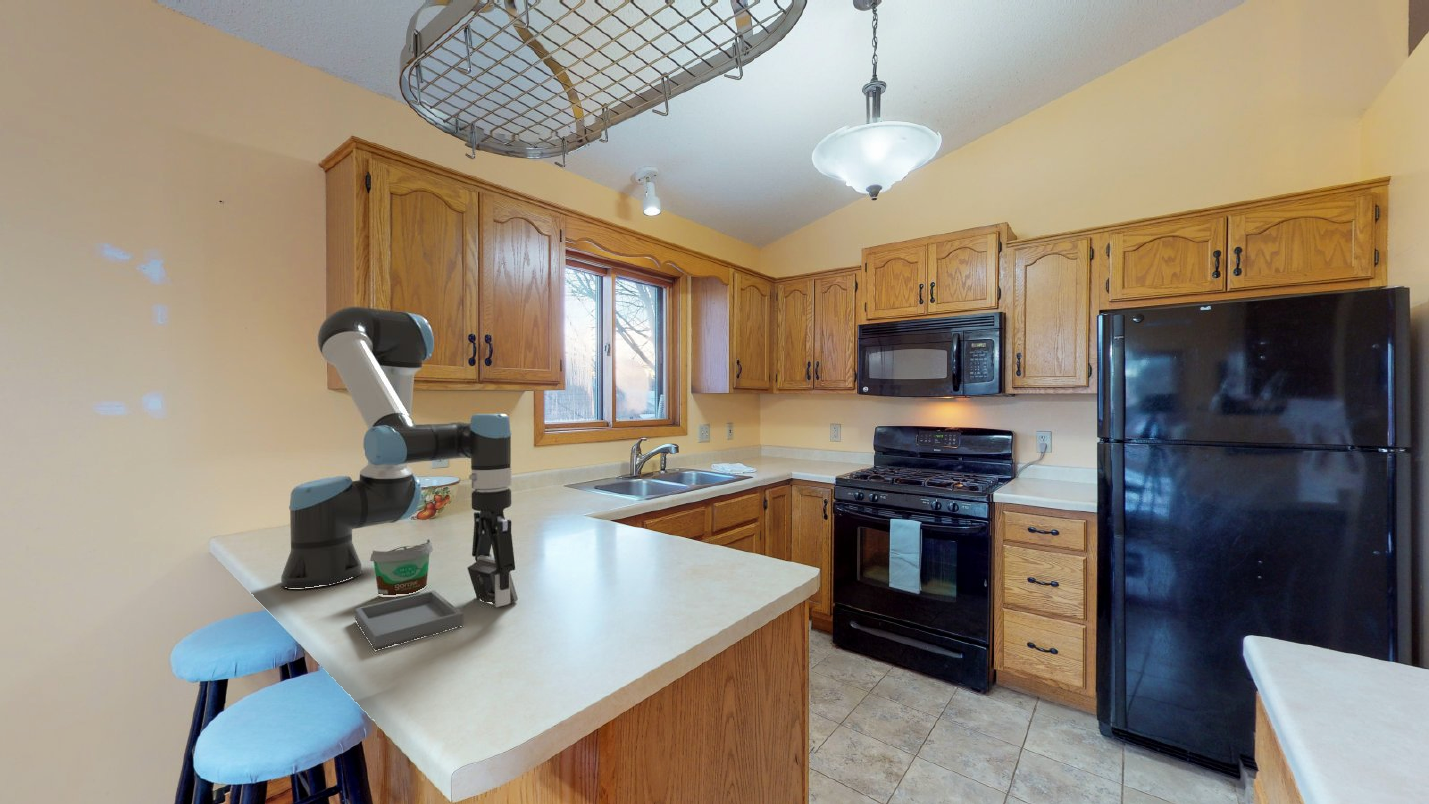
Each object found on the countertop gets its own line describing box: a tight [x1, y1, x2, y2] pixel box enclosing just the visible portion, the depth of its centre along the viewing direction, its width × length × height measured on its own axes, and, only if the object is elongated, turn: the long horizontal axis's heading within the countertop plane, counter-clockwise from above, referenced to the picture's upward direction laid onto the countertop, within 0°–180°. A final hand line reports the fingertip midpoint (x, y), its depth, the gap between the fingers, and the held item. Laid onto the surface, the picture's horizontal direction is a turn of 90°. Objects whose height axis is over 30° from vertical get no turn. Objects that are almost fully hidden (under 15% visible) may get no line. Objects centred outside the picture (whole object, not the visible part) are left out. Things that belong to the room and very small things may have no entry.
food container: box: [369, 538, 434, 595], centre depth 115 cm, size 12×6×10 cm, turn 143°
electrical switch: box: [467, 555, 519, 608], centre depth 108 cm, size 9×5×9 cm, turn 56°
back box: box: [354, 589, 463, 650], centre depth 98 cm, size 17×14×2 cm
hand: (493, 598), depth 109 cm, fingers closed on electrical switch, 9 cm apart
